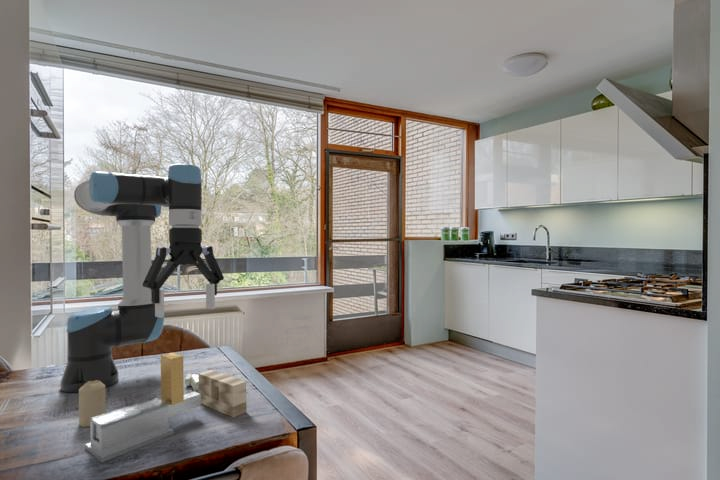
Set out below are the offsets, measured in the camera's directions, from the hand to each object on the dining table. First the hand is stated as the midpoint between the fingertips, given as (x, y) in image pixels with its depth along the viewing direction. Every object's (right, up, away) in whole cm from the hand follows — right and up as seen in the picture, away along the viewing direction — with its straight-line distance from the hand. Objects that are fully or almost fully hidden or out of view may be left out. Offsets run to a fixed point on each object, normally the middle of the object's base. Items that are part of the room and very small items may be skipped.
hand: (186, 312), depth 101 cm
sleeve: (-8, -27, -10) cm, 30 cm away
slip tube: (-5, -24, -7) cm, 25 cm away
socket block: (+6, -27, +8) cm, 29 cm away
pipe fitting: (-6, -27, +22) cm, 36 cm away
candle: (-23, -27, -1) cm, 36 cm away
